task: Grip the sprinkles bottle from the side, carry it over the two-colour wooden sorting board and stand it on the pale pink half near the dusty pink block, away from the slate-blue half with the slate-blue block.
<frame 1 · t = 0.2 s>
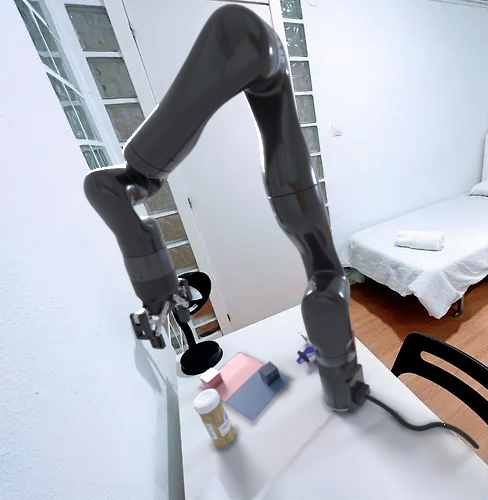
hand: (174, 333, 62), 22 cm above the table, tool pointing down, fingers open, 8 cm apart
toy airplane: (315, 352, 82), on the table
blue block: (270, 378, 74), point 1 cm above the table, touching sorting board
sprinkles bottle: (225, 438, 62), on the table
sorting board: (246, 383, 74), on the table
pink block: (213, 384, 75), point 1 cm above the table, touching sorting board
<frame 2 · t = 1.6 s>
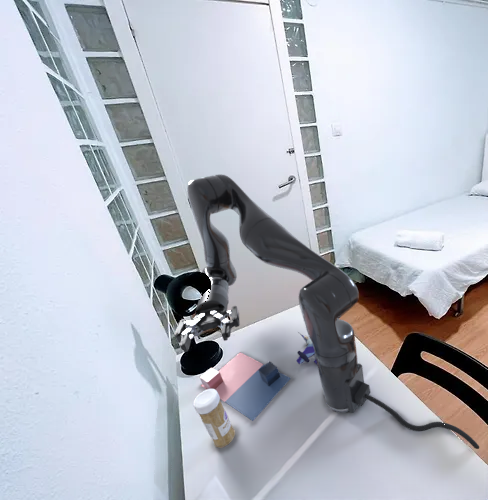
hand: (204, 343, 63), 18 cm above the table, tool horizontal, fingers open, 8 cm apart
nothing on the table moved.
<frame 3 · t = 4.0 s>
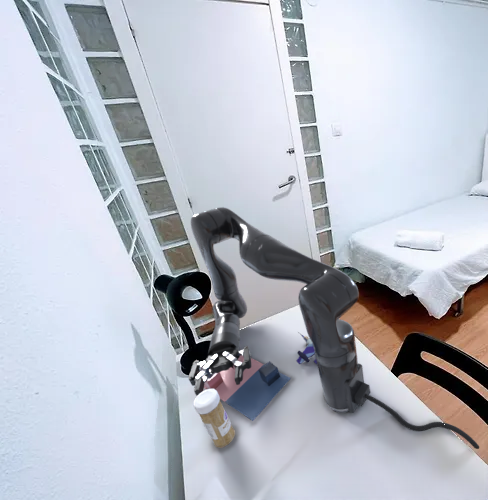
hand: (218, 388, 65), 8 cm above the table, tool horizontal, fingers open, 8 cm apart
nothing on the table moved.
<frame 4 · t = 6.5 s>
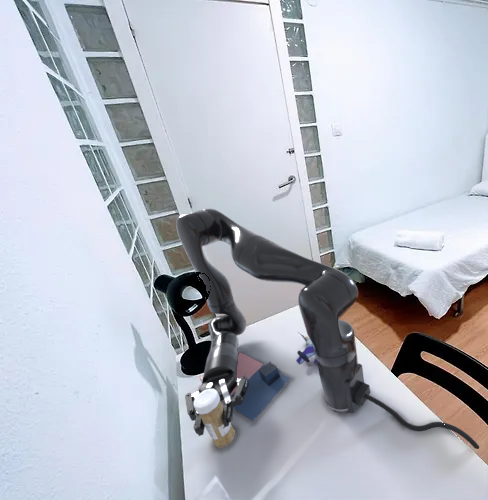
hand: (212, 428, 56), 8 cm above the table, tool horizontal, fingers closed on sprinkles bottle, 4 cm apart
sprinkles bottle: (225, 438, 62), on the table, touching gripper
pink block: (213, 384, 74), point 1 cm above the table, touching arm, sorting board
everything else where it was.
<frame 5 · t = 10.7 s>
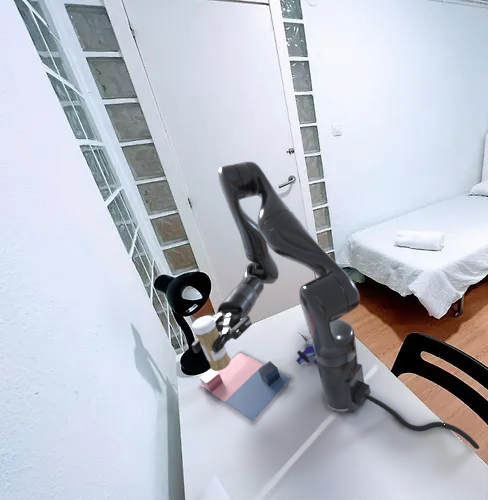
hand: (204, 349, 62), 18 cm above the table, tool horizontal, fingers closed on sprinkles bottle, 4 cm apart
sprinkles bottle: (221, 364, 68), point 10 cm above the table, touching gripper
pink block: (213, 384, 74), point 1 cm above the table, touching sorting board
everything else where it was.
when the fingers open (8 cm above the table, at t = 14.7 s): sprinkles bottle stays where it is, resting on sorting board.
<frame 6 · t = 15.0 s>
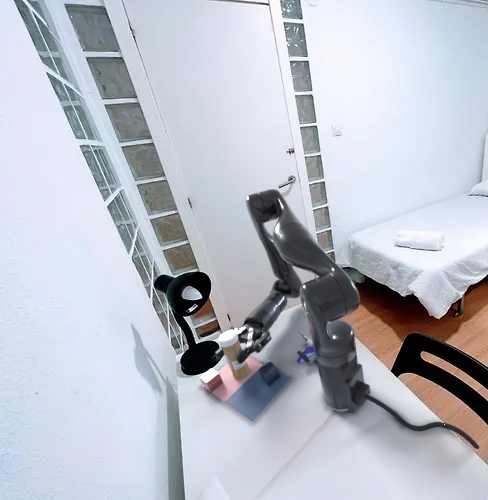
hand: (227, 359, 72), 8 cm above the table, tool horizontal, fingers open, 6 cm apart
sprinkles bottle: (241, 372, 77), resting on sorting board
everything else where it was.
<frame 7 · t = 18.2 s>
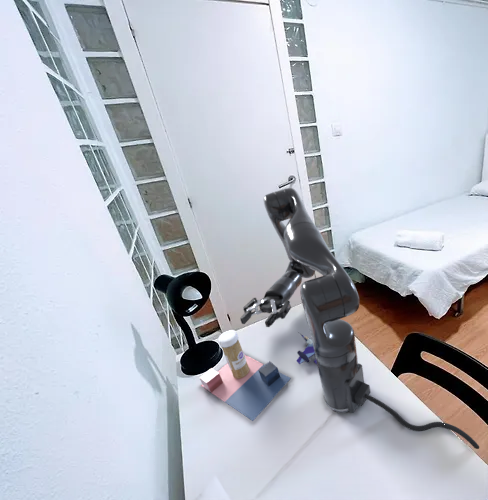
hand: (254, 323, 82), 10 cm above the table, tool horizontal, fingers open, 8 cm apart
nothing on the table moved.
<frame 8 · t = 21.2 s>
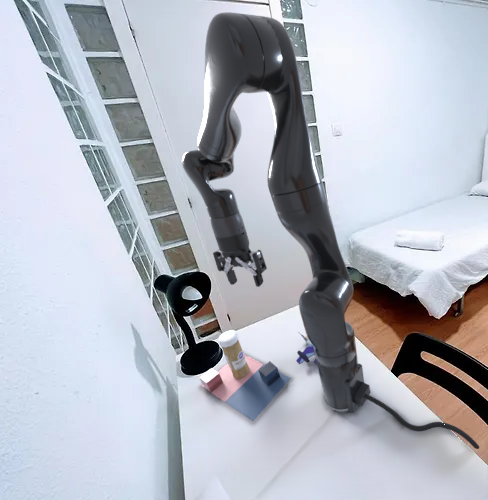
hand: (246, 284, 78), 22 cm above the table, tool pointing down, fingers open, 8 cm apart
nothing on the table moved.
at the end: sprinkles bottle inside the target area (2.1 cm from its centre), resting on sorting board; sprinkles bottle tilted 0°; the gripper is holding nothing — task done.
